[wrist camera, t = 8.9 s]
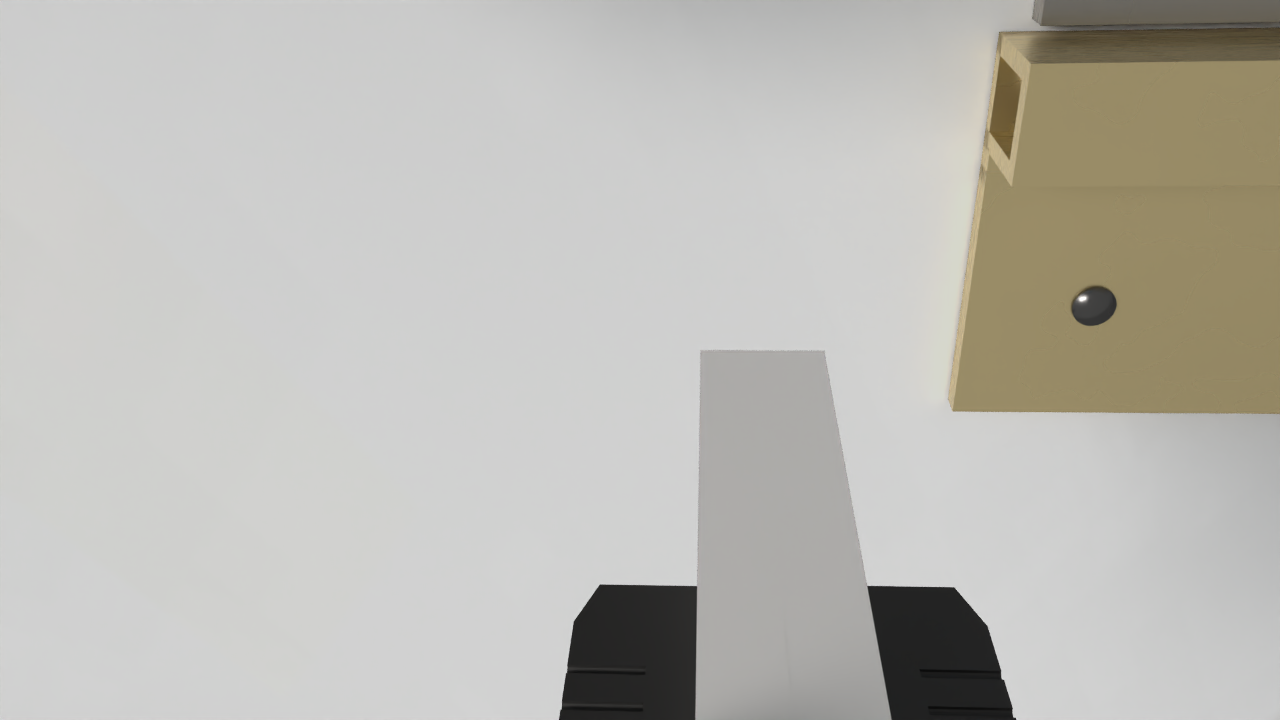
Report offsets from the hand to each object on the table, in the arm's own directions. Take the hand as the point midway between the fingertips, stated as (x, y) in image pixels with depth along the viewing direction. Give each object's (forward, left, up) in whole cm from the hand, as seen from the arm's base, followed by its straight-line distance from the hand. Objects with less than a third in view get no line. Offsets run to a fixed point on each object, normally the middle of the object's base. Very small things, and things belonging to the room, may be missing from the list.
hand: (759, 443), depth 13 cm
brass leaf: (+14, -4, -17) cm, 23 cm away
